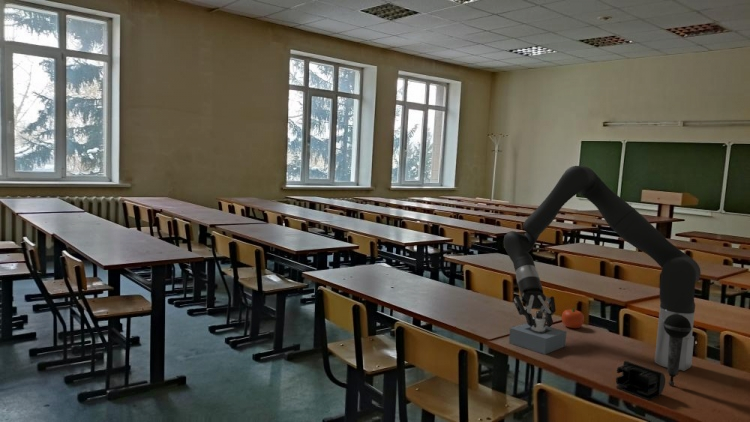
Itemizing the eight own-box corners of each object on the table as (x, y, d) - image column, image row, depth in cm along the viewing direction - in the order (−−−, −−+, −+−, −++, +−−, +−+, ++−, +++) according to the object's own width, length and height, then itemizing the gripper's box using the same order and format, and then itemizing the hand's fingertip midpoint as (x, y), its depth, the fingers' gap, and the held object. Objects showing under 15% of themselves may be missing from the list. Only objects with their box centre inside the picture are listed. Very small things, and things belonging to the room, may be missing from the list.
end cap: (664, 396, 144) (666, 371, 143) (650, 402, 139) (653, 376, 139) (627, 382, 152) (630, 358, 151) (613, 387, 147) (615, 363, 147)
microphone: (690, 391, 147) (698, 318, 145) (664, 389, 147) (672, 317, 146) (677, 381, 154) (684, 311, 152) (652, 379, 154) (659, 310, 152)
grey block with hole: (565, 346, 180) (566, 331, 179) (544, 354, 171) (545, 338, 171) (530, 335, 189) (531, 321, 189) (509, 342, 180) (510, 328, 180)
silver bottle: (546, 345, 180) (549, 312, 179) (539, 347, 177) (542, 314, 176) (534, 341, 183) (537, 309, 182) (527, 343, 180) (530, 311, 179)
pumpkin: (578, 331, 197) (580, 311, 196) (557, 326, 202) (558, 307, 202) (586, 327, 203) (588, 308, 202) (565, 322, 208) (567, 303, 207)
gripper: (512, 275, 185) (524, 319, 174) (552, 275, 187) (566, 320, 176) (505, 286, 190) (516, 330, 180) (544, 287, 192) (557, 331, 182)
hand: (541, 325), depth 178 cm, fingers open, 5 cm apart
